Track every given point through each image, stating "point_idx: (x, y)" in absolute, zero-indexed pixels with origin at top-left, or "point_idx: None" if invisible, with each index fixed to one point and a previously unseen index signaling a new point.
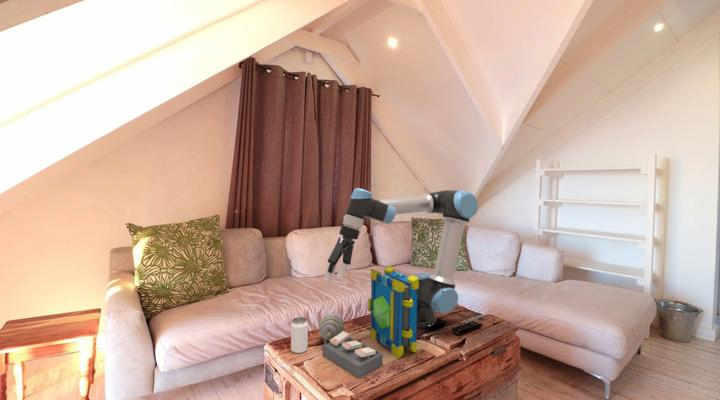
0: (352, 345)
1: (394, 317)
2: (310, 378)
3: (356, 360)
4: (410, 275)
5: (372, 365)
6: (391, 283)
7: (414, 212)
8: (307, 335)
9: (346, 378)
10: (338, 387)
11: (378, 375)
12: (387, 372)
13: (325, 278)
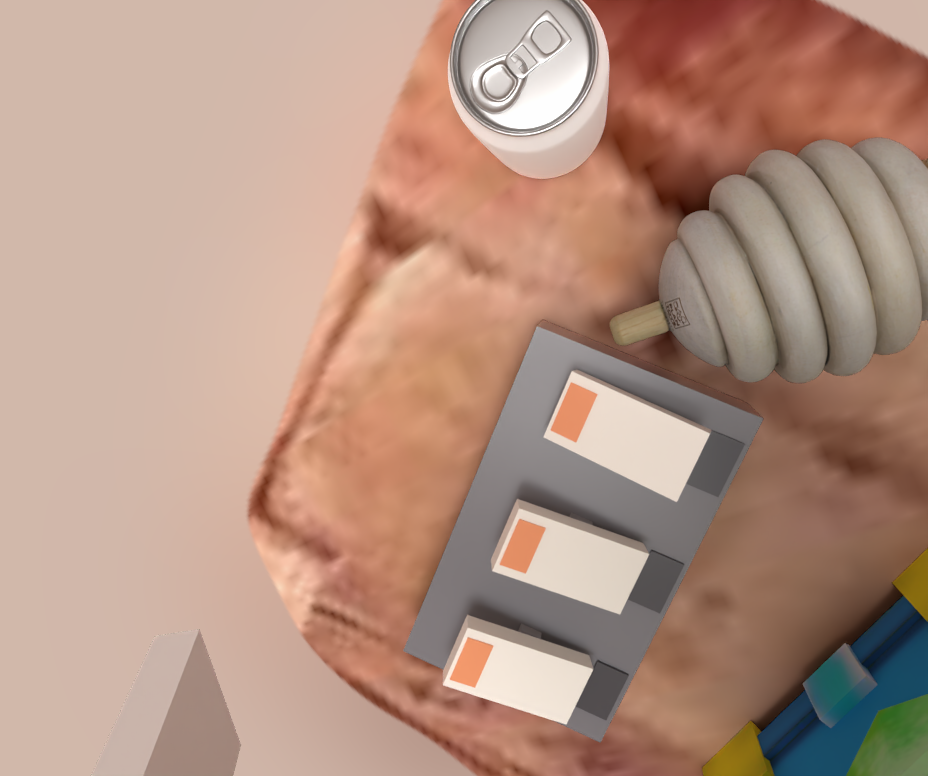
0: (528, 581)
1: None
2: (301, 379)
3: (457, 615)
4: None
5: None
6: None
7: None
8: (564, 160)
9: (388, 557)
10: (304, 548)
11: (488, 702)
12: (537, 740)
13: (148, 683)
